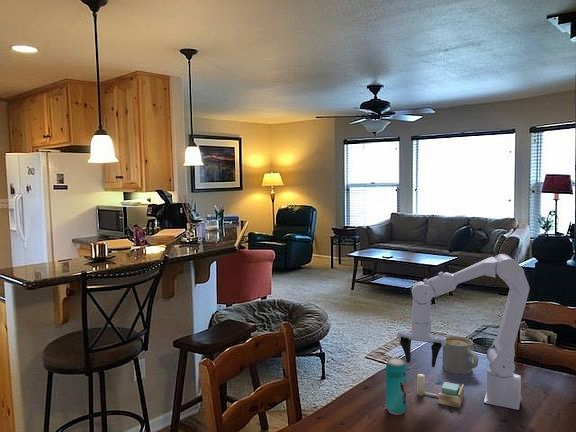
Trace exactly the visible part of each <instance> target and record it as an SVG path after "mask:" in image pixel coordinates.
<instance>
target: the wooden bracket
mask: <svg viewBox="0 0 576 432" xmlns="http://www.w3.org/2000/svg"><path fill="white" fill-rule="evenodd" d="M438 395H439V397H437V398H438V401H437V402H438V404H441V405H444V406H449V407H455V408H461V405H462V403H463V401H464V398H465V397H464V396H465V385H464V383H462V384H461V386H459V393H458V396H454V395H449V394H444V393H442V392H438Z"/></svg>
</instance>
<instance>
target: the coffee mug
mask: <svg viewBox="0 0 576 432" xmlns="http://www.w3.org/2000/svg"><path fill="white" fill-rule="evenodd" d="M444 337H445V338H446V344H445V346H443V345H442V366H441V367H442V369H443V370H444V371H446V372H448V373H450V374H455V375H467V374H470V373H472V371H473V369H475V368H477V367H478V365H479V356H478V354H477V353H476V352H475V351H473V349H474V347H473V346H474V342H473V340H472V339H470V338H467V337H465V336H460V335H449V336H444Z"/></svg>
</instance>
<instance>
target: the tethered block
mask: <svg viewBox="0 0 576 432" xmlns="http://www.w3.org/2000/svg"><path fill="white" fill-rule="evenodd" d="M416 376H417V378H416V379H417V380H416V381H417V382H416V387H417V388H416V389H417V390H416V395H418V396H422V397H423V396H431V397H436V398H438V397H439V394H436V393H431V392H427V391H425V385H426V384H425V380H426V379H425V377H426V376H425V374H423V373H418V374H416ZM459 387H460V384H458V383H452V382H448V381H447V382H446V381H444V382H443V384H442V386H441V393H444V394H449V395H454V396H458V393H459Z"/></svg>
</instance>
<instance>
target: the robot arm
mask: <svg viewBox="0 0 576 432" xmlns="http://www.w3.org/2000/svg"><path fill="white" fill-rule="evenodd" d="M437 274H438V275H435V276H433V277H431V278H424V279H423V281H417V282H415V283H414V284H413V285H412V287H411V296H412V302H411V304H412V305H411V331H410V330H409V331H405V330H398V331H397V333H396V335H397V336H396V337H397V339H399V340H400V341H399V344H400V346H401V348H402V350H403V353H404V355H405V361H406V363H410V362H411V359H412V356H411V354H412V352H411V351H412V350H411V348H412V341H417V342H424V343H430V344H432V345H431V346H430V347H431V368H435V366H436V363H437V359H438V356H439V353H440V350H441V348H443V346H445V344H446V338H445V337H446V336H439V335H436V334H432V307H431V300H432V299H433V298H437V297H439V296H442V295H444V294H447V293H449V292H452V291H454V290H456V288H457V286H458V285H459V284H461V283H462V284H463V283H465V282H467V281H470V280H473V279H476V278H478V277H483V276H486V277H492V278H496V277H497V276H498V277H499V278H500V279H501V280H502V281H504V282H505V284H506V285H507V286H508V288H509V290H508V294H507V298H506V300H505V301H506V302H505V304H504V308H503V309H504V310H503V313H502V316H501V320H500V325H499V328H498V331H497V336H496V338H494V340H492V341H493V342H492V345H491V346H490V347H489V348H488V349H487V351H486V358H487V360H488V362H489V365H488V367H487V369H486V393H485V395H484V396H485V397H484V400H483V403H484V404H487V405H493V406H497V407H502V408H507V409H512V410H516V411H517V410H520V405H521V401H522V394H521V392H522V391H521V387H522V384H521V383H522V381H521V380H522V375H519V374H517V373H514V372H515V369H516V364H515V357H516V353H515V352H516V351H515V344H516V340H517V336H518V333H519V330H520V325H521V324H522V323H521V321H522V319H523V315H524V311H525V308H526V303H527V300H528V297H529V293H530V285H529V282H528V280H527V276H526V274H525V270H524V268H523V267H522V266H521V265H520V264H519V262H518V261H517V260H514V259H513V258H512V257H511V256H510V255H509V254H506V253H500V254H497V255H495V256H490V257H489V256H488V258H485V259H483V260H481V261H479V262H476V263H474V264H471V265H470V266H467V267H466V268H463V269H461V270H459V271H456V272H454V273H450V272H447V271H446V272H443V271H440V272H438V273H437ZM496 275H497V276H496Z"/></svg>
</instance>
